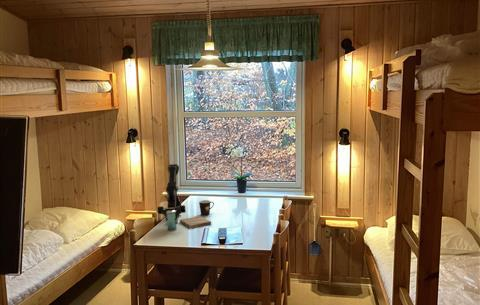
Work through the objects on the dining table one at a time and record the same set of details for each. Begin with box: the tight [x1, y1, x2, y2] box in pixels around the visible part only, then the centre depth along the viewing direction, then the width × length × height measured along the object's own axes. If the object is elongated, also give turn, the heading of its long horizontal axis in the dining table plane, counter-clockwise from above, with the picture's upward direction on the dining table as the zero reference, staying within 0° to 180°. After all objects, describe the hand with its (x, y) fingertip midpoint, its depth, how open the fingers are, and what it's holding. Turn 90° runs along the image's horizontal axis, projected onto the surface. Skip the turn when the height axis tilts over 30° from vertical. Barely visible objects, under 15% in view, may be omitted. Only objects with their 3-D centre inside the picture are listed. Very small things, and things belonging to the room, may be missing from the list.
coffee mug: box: [198, 199, 215, 217], centre depth 340 cm, size 12×9×10 cm
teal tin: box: [166, 210, 177, 232], centre depth 304 cm, size 6×6×13 cm
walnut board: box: [179, 215, 212, 229], centre depth 318 cm, size 18×16×2 cm
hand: (171, 220), depth 303 cm, fingers closed on teal tin, 6 cm apart
